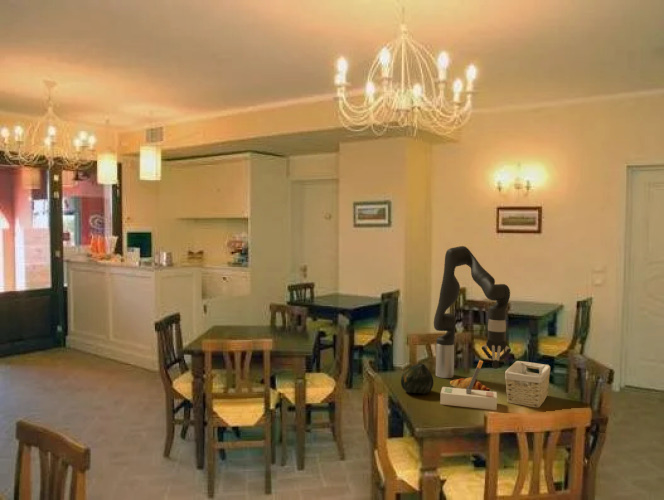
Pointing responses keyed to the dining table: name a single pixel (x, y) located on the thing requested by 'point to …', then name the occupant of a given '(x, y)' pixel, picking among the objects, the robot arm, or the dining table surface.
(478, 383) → the croissant
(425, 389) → the squash
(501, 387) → the dining table surface
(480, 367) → the lever
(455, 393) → the switch block
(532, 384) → the storage basket
